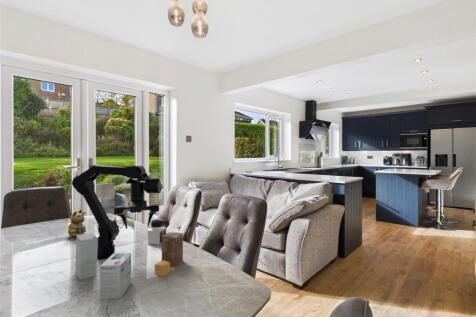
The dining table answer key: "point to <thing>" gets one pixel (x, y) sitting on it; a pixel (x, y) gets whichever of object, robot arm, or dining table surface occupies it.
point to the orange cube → (162, 268)
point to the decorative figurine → (77, 224)
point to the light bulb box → (115, 275)
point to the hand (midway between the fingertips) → (137, 227)
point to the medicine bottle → (156, 232)
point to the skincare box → (86, 256)
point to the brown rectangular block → (172, 248)
